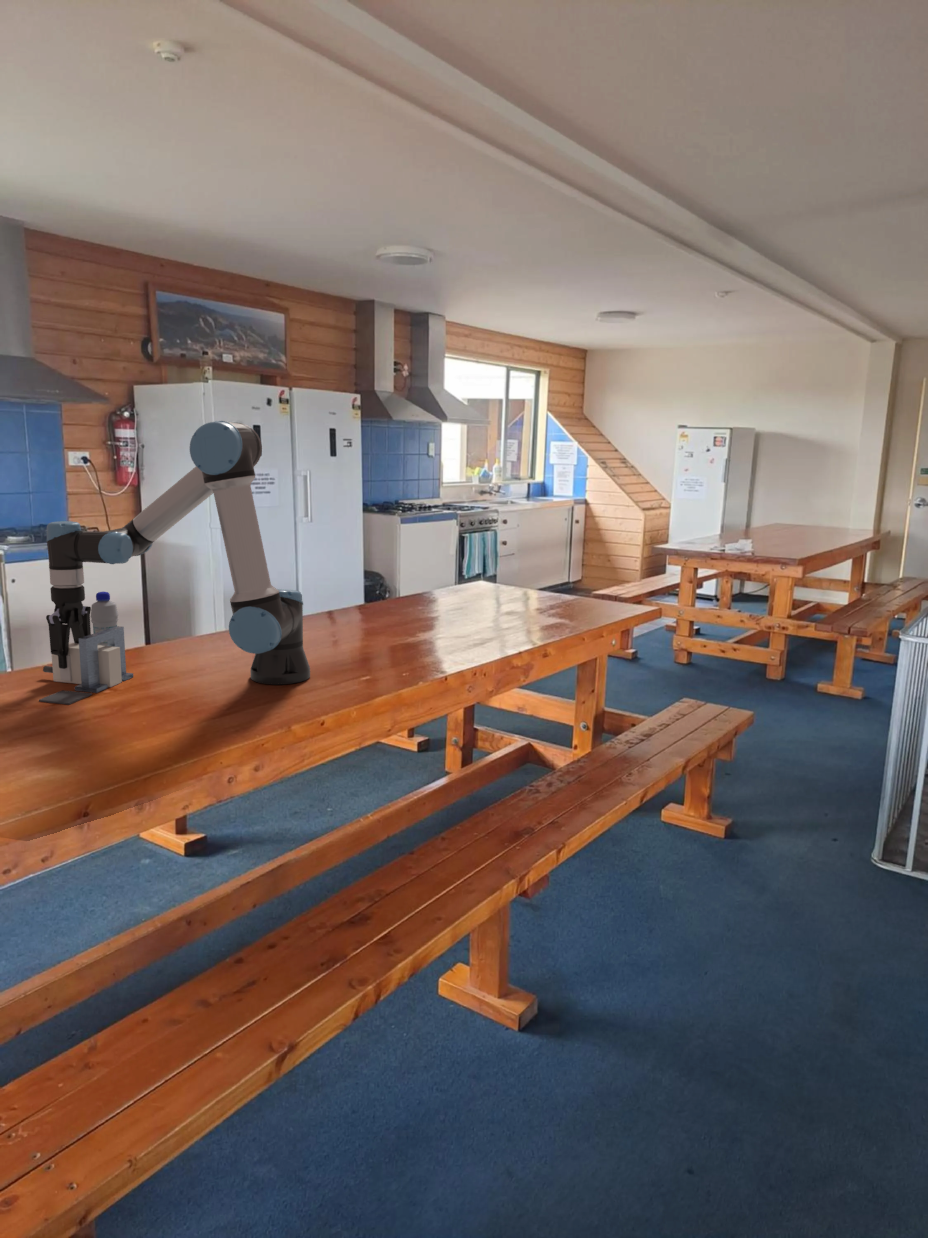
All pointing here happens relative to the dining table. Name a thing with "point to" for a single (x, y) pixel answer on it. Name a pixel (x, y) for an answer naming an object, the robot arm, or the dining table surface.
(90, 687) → the blue-grey arch stand
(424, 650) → the dining table surface
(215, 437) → the robot arm
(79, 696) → the mat
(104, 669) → the white block
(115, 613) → the bottle
